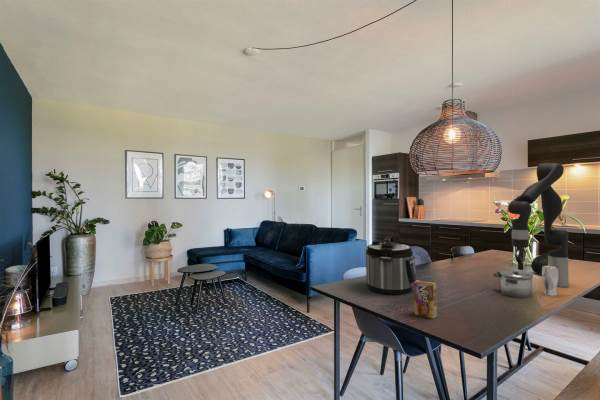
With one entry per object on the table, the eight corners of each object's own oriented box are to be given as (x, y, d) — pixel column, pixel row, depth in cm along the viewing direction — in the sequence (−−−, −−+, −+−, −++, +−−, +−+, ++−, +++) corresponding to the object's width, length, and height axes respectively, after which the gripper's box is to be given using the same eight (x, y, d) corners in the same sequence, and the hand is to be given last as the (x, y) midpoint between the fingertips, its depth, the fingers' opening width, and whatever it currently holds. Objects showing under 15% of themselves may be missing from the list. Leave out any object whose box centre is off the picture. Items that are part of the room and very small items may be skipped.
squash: (530, 267, 206) (547, 251, 203) (523, 264, 220) (540, 249, 217) (550, 283, 202) (568, 267, 198) (542, 278, 216) (559, 263, 212)
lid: (502, 270, 180) (502, 267, 180) (535, 275, 168) (535, 272, 168) (494, 275, 170) (494, 271, 170) (529, 280, 158) (529, 277, 158)
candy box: (437, 316, 139) (436, 282, 139) (434, 319, 136) (433, 284, 136) (418, 311, 145) (417, 279, 145) (414, 314, 142) (413, 281, 142)
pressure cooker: (392, 300, 163) (391, 240, 163) (355, 287, 186) (354, 235, 186) (426, 290, 179) (425, 235, 179) (388, 280, 203) (387, 232, 203)
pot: (500, 286, 183) (499, 269, 183) (535, 292, 170) (535, 274, 170) (489, 293, 170) (489, 275, 170) (527, 300, 157) (527, 280, 157)
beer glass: (552, 297, 162) (551, 268, 162) (539, 293, 169) (538, 266, 169) (562, 295, 164) (561, 267, 164) (548, 292, 171) (548, 265, 171)
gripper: (525, 239, 160) (526, 272, 160) (531, 237, 169) (532, 268, 169) (508, 238, 165) (509, 270, 165) (515, 236, 174) (515, 266, 174)
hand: (520, 269), depth 167 cm, fingers closed
